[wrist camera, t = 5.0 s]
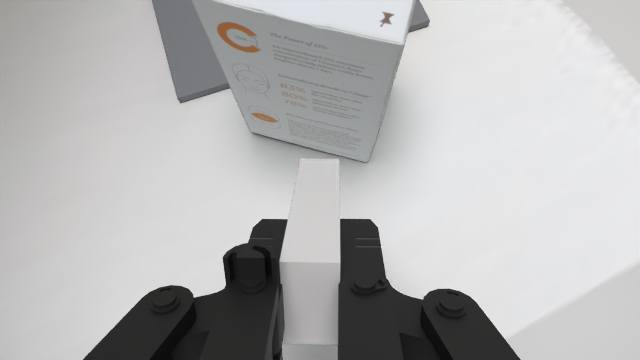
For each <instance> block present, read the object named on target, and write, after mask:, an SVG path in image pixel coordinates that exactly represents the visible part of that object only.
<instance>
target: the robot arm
mask: <svg viewBox="0 0 640 360" xmlns="http://www.w3.org/2000/svg"><path fill="white" fill-rule="evenodd" d="M223 263H224V271H225V279H226V286H225V289H223V290H221V291H219V292H217V293H213V294H210V295H205V296H200V297H195V298H193V294H192V292H191V291H190V290H189V289H187V288H185V287H182V286H173V285H170V286H165V287H160V288H158V289H156V290H153V291H151V292H149V293H148V294H147V295H145V296H144V297H143V298H142V299H141V300H140V301H139V302H138V303H137V304H136V305H135V306H134V307H133V308H132V309H131V310H130V311H129V312H128V313H127V314H126V315H125V316H124V317H123V318H122V319H121V320H120V322H119V323H118V324H117V325H116V326H115V327H114V328H113V329H112V330H111V331H110V332H109V333H108V334H107V335H106V336H105V337H104V338H103V339H102V340H101V341H100V342H99V343H98V344H97V345H96V346H95V348H94V349H93V350H92V351H91V352H90V353H89V354H88V355H87V356H86V357H85V358H84V359H83V360H283V357H282V342H283V335H284V344H313V345H338V360H520V358H519V357H518V356H517V355H516V354H515V352H514V351H513V349H512V348H511V347H510V345H509V344H508V343H507V342H506V340H505V339H504V338H503V336H502V335H501V334H500V333H499V331H498V330H497V329H496V327H495V326H494V325H493V323H492V322H491V321H490V320H489V318H488V317H487V316H486V314H485V313H484V312H483V311H482V309H481V308H480V307H479V305H478V304H477V303H476V302H475V301H474V300H473V299H472V298H471V297H470V296H468V295H466V294H464V293H462V292H460V291H456V290H452V289H437V290H434V291H430V292H429V293H428V294H427V295H426V296H424V299H423V300H421V299H417V298H413V297H410V296H407V295H404V294H402V293H400V292H398V291H396V290H395V289H394V288H393V287H391V285H390V283H389V281H388V280H387V279H386V275H385V269H384V263H383V256H382V250H381V244H380V237H379V231H378V227H377V226H376V225H375V224H374V223H373V222H372V221H371V220H370V219H340V169H339V159H302V158H300V162H299V167H298V172H297V177H296V182H295V187H294V192H293V197H292V202H291V207H290V212H289V216H288V219H262V220H261V221H260V222H259V223H258V224H256V225H255V226H254V227H253V230H252V233H251V236H250V239H249V242H248V243H246V244H242V245H238V246H235V247H233V248H232V249H230V250H229V251H227V252H226V254H225V255H224V256H223Z"/></svg>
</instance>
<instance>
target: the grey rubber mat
mask: <svg viewBox="0 0 640 360" xmlns="http://www.w3.org/2000/svg"><path fill="white" fill-rule="evenodd" d="M152 2H153V6H154V10H155V14H156V18H157V21H158V25H159V29H160V33H161V37H162V41H163V45H164V48H165V52H166V56H167V60H168V64H169V68H170V71H171V75H172V79H173V83H174V87H175V91H176V94H177V98H178V100H179V101H180V103H182V102H185V101H188V100H192V99H195V98H198V97H201V96H204V95H208V94H211V93H214V92H217V91H221V90H224V89H227V88H230V86H229V83H228V81H227V79H226V77H225V74H224V72H223V70H222V68H221V66H220V64H219V61H218V59H217V57H216V55H215V52H214V50H213V48H212V45H211V43H210V41H209V39H208V36H207V34H206V32H205V30H204V27H203V25H202V23H201V21H200V19H199V16H198V14H197V12H196V10H195V8H194V5H193V3H192V1H191V0H152ZM429 21H430V20H429V18H428V16H427V14H426V12H425V10H424V8H423V7H422V5H421V3H420V1H419V0H416V2H415V6H414V10H413V14H412V18H411V22H410V26H409V30H408V32H411V31H414V30H417V29H420V28H424V27H427V26H428V25H429Z"/></svg>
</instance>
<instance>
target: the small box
mask: <svg viewBox="0 0 640 360" xmlns="http://www.w3.org/2000/svg"><path fill="white" fill-rule="evenodd" d="M191 1H192V3H193V5H194V8H195V10H196V12H197V14H198V16H199V19H200V21H201V23H202V25H203V27H204V30H205V32H206V34H207V36H208V39H209V41H210V43H211V45H212V48H213V50H214V52H215V55H216V57H217V59H218V61H219V64H220V66H221V68H222V70H223V72H224V74H225V77H226V79H227V81H228V83H229V86H230V88H231V91H232V93H233V95H234V97H235V100H236V102H237V104H238V106H239V108H240V111H241V113H242V115H243V117H244V119H245V122H246V124H247V126H248V128H249V130H250V132H253V133H257V134H261V135H264V136H268V137H272V138H275V139H279V140H283V141H287V142H290V143H294V144H298V145H302V146H306V147H309V148H313V149H317V150H321V151H324V152H328V153H332V154H336V155H340V156H344V157H347V158H352V159H356V160H359V161H363V162H368V161H369V158H370V156H371V153H372V150H373V147H374V144H375V141H376V138H377V135H378V132H379V129H380V126H381V122H382V119H383V116H384V112H385V109H386V106H387V102H388V99H389V96H390V92H391V89H392V85H393V82H394V79H395V75H396V72H397V69H398V66H399V62H400V59H401V56H402V52H403V49H404V46H405V42H406V38H407V34H408V30H409V26H410V22H411V18H412V14H413V10H414V6H415V2H416V0H191Z"/></svg>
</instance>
